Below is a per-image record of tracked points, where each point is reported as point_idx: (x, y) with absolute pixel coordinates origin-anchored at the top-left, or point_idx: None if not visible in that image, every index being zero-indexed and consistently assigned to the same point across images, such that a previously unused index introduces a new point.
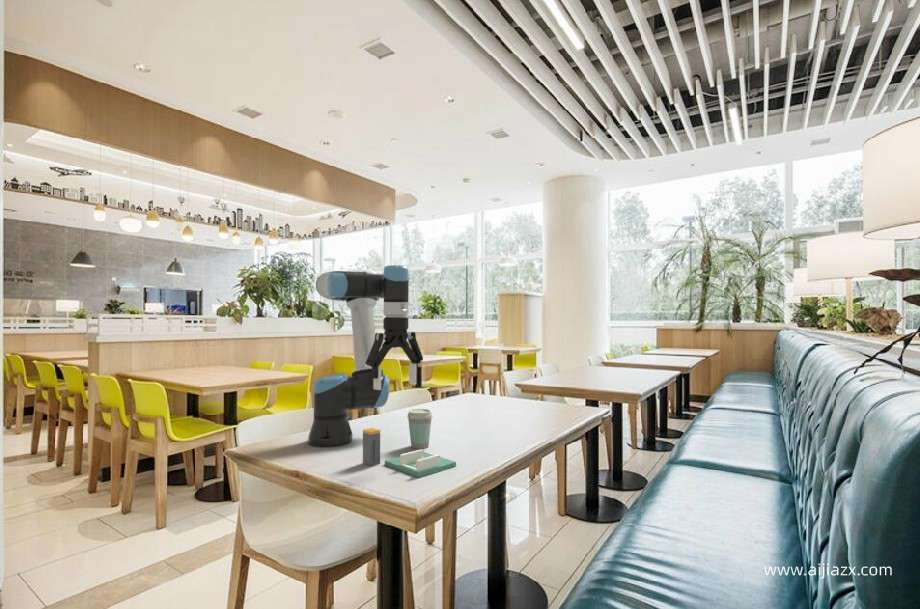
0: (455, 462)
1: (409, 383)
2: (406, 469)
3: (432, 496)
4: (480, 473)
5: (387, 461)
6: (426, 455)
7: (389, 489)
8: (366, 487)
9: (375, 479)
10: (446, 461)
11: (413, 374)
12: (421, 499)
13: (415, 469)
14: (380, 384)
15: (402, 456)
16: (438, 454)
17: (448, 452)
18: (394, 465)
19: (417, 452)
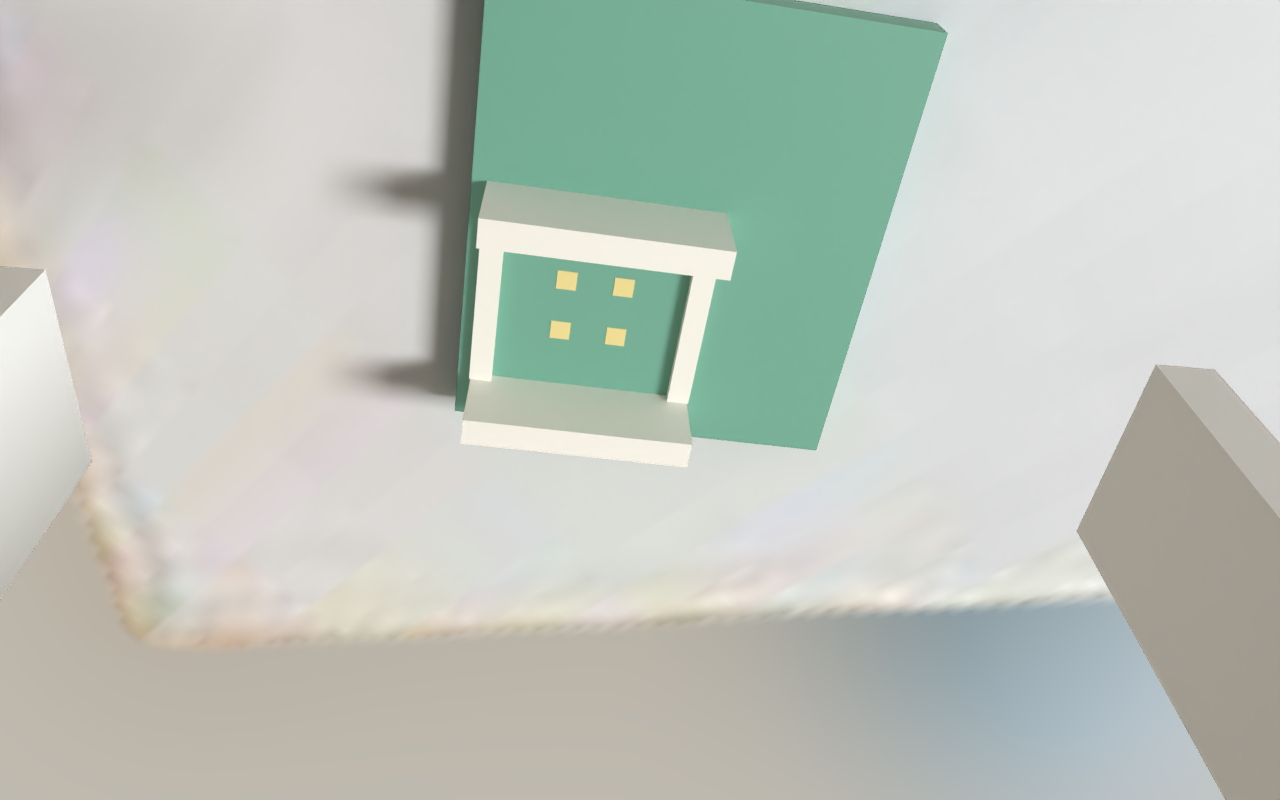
0: (809, 448)
1: (1153, 388)
2: (464, 278)
3: (301, 614)
4: (766, 601)
5: (486, 5)
6: (846, 172)
7: (169, 394)
8: (54, 256)
9: (197, 183)
10: (789, 395)
11: (1201, 693)
12: (228, 601)
13: (471, 370)
14: (10, 546)
15: (483, 244)
16: (690, 450)
17: (1124, 175)
18: (476, 117)
19: (657, 267)
